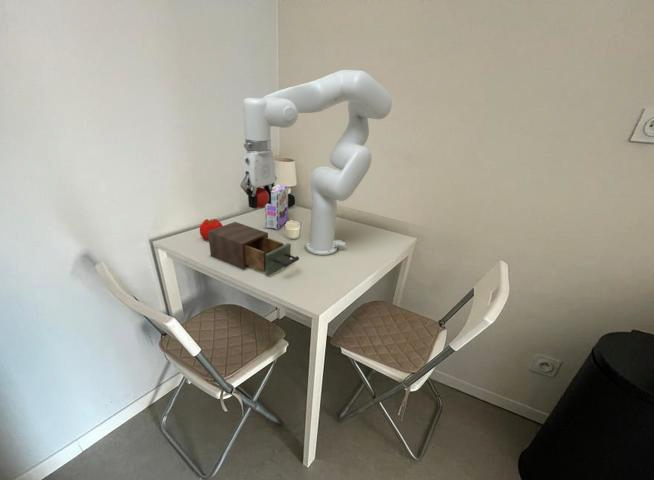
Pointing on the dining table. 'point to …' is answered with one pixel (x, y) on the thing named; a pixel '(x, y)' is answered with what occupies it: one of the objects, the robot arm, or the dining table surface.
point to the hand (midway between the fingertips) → (260, 204)
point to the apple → (261, 197)
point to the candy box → (277, 207)
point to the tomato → (209, 227)
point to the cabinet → (233, 242)
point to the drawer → (268, 255)
